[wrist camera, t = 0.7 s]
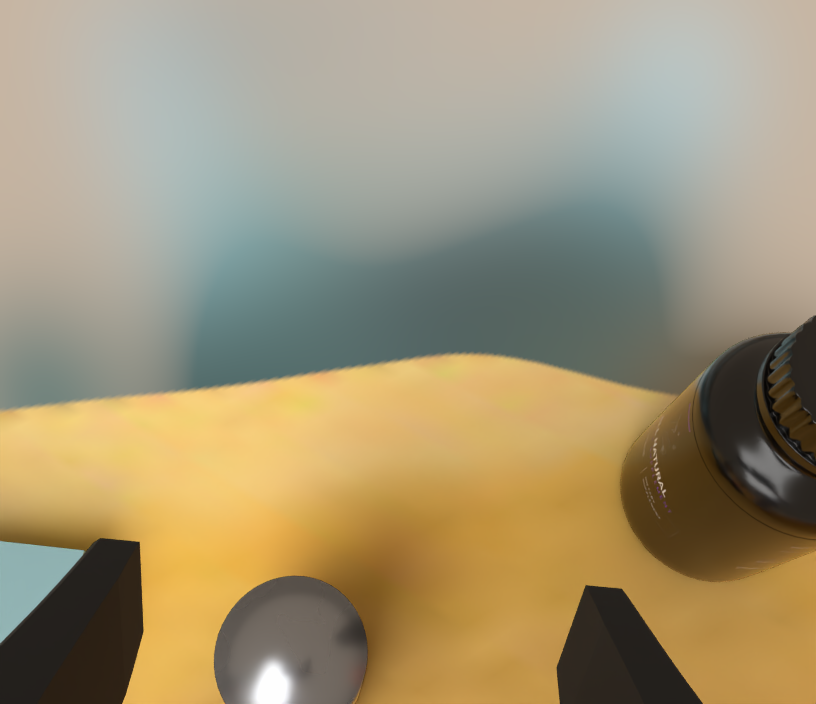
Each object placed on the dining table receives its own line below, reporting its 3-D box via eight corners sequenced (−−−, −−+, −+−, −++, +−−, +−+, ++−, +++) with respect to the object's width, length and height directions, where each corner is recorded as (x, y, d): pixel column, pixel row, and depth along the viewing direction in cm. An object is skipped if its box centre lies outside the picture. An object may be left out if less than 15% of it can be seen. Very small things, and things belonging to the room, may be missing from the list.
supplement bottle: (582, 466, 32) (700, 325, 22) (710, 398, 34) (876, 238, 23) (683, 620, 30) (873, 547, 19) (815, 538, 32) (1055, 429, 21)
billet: (354, 747, 27) (357, 746, 22) (227, 733, 27) (199, 729, 22) (369, 615, 29) (375, 584, 24) (251, 602, 29) (230, 568, 24)
